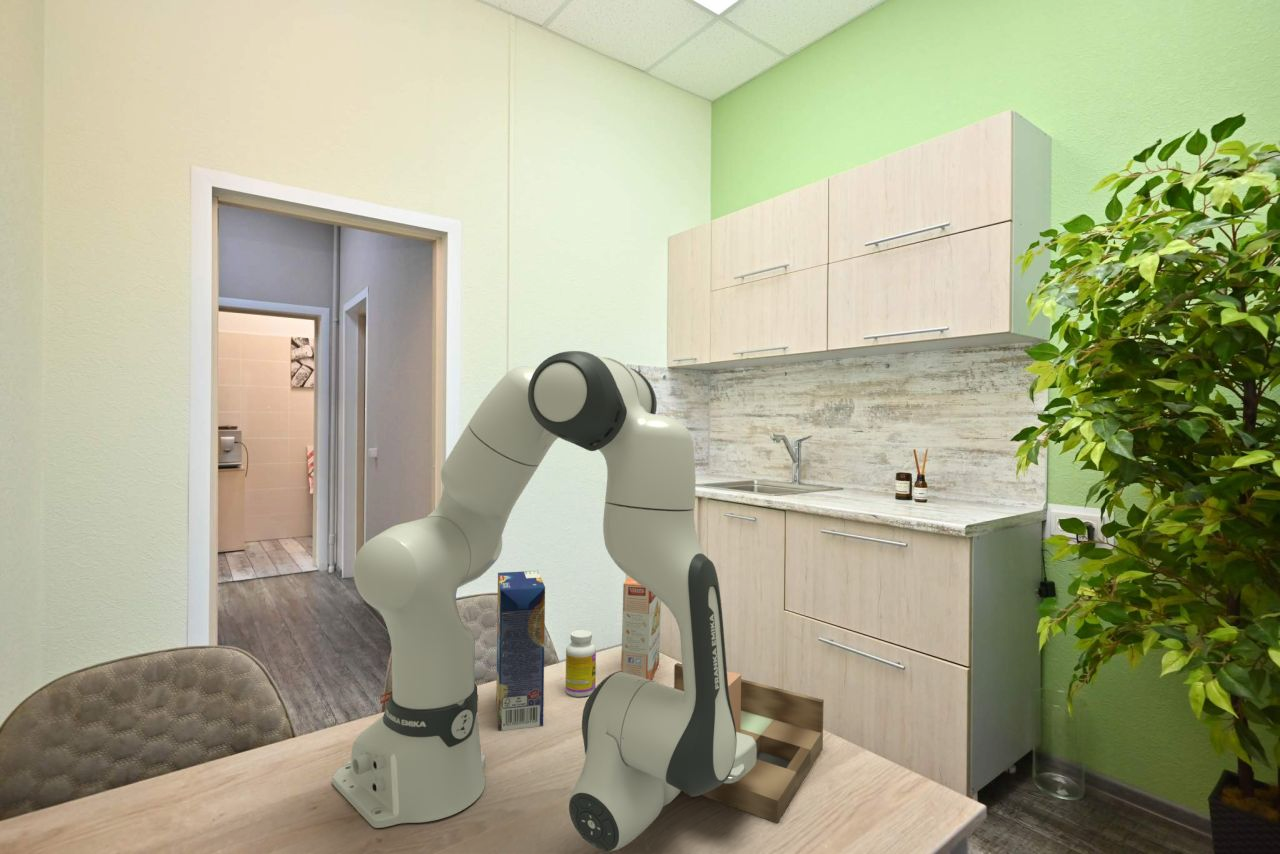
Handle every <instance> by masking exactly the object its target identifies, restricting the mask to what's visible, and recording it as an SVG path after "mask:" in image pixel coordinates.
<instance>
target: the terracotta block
mask: <svg viewBox="0 0 1280 854" xmlns="http://www.w3.org/2000/svg"><path fill="white" fill-rule="evenodd" d="M727 678H728V690H729V698H730V703H731V708H732V712H733V717H734V721H735V727H736V732H739V733H740V726H741V679H742V674H740V673H737V672H733V671H728V670H727Z"/></svg>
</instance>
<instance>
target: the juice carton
mask: <svg viewBox="0 0 1280 854" xmlns="http://www.w3.org/2000/svg"><path fill="white" fill-rule="evenodd" d="M496 615H497V617H496V618H497V621H496V624H497V625H496V626H497V629H496V637H497V638H496V693H495V695H496V696H495V697H496V698H495V699H496V711H497V722H498V731H499V732H502V731H510V730H518V729H519V730H521V729H528V728H537V727H544V704H545V703H544V699H545V697H544V695H545V694H544V693H545V692H544V691H545V690H544V689H545V688H544V687H545V628H546V627H545V623H546V620H545V619H546V617H545V615H546V587H545V584H544V581H543V579H542V576H541V575H540V573H539V570H528V571H527V570H526V571H523V570H522V571H508V572H507V571H505V572H497V614H496Z"/></svg>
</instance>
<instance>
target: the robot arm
mask: <svg viewBox="0 0 1280 854" xmlns="http://www.w3.org/2000/svg"><path fill="white" fill-rule="evenodd" d="M657 404H658V403H657V397H656V393H655V390H654V388H653V385H652V384H651V383H650V382H649V380H648V379H647V378H646V377H645V376H644V375H643V374H642V373H641V372H639V371H638V370H637V369H635V368H633V367H629V366H628V365H626V364H624V363H622V362H620V361H619V360H616V359H613V358H610V357H605V356H604V357H603V356H598V355H594V354H593V353H590V352H586V351H582V350H581V351H580V350H568V351H562V352H557V353H555V354H553V355H551V356H549V357H547V358H546V359H545V360H543V361H541V363H540V364H538V366H537V367H533V366H519V367H517V366H516V367H514V368H512V369H510V370H509V371H508V372H506V373H505V375H504V376H503V377H502V378H501V379H500V380H499V381H498V382H497V383H496V384H495V386H494V387H493V388H492V389H491V391H489V393H488V394H487V396H486V397H485V398H484V399H483V401H482V402H481V403H480V405H479V406H478V408H477V409H476V411H475V413H473V414H472V417H471V418H470V420H469V422H468V423H467V425H466V426H465V428H464V430H463V431H462V433H461V435H460V437H459V438H458V439H457V441H456V444H455V445H454V446H453V448H452V450H451V452H450V453H449V455H448V456H447V458H446V459H445V462H444V463H443V465H442V467H441V470H440V478H441V479H440V480H441V482H442V485H443V489H442V494H441V497H440V499H439V502H438V504H437V506H436V507H435V508H434V510H432V512H431V513H429V514H428V515H427V516H425V517H423V518H419V519H415V520H411V521H408V522H403V523H399V524H395V525H393V526H390V527H389V528H387V529H385V530H383V531H382V532H380V533H378V534H377V535H376V536H373V537H372V538H370V539H369V540H367V541H366V542H365V543H364V544H363V545H362V546H361V547H360V548H359V550H358V552H357V553H356V557H355V559H354V564H353V580H354V584H355V587H356V590H357V592H358V593H359V595H360V596H361V598H362V599H363V600H364V601H365V602H366V603H367V604H368V605H369V606H371V607H372V608H374V609H375V610H377V611H378V612H379V613H380V615H381V616H382V618H383V621H384V623H385V624H386V628H387V631H388V634H389V640H390V647H391V674H392V675H391V677H392V678H391V679H392V680H391V684H392V686H391V687H392V688H391V689H392V690H391V691H388V692H386V693H384V694H382V695H380V696H379V698H383V699H382V700H381V701H379V704H384V703H386V706H385V709H384V712H383V715H382V716H381V717H380V718H378V719H377V720H376V721H375V722H374V723H372V724H370V725H369V726H368V727H366V728H365V729H364V730H363V731H361V732H360V733H359V734H358V736H356V738H355V740H354V741H353V744H352V747H351V756H350V760H349V761H347V762H345V764H343V765H342V766H341V767H340V768H339V769H338V770H337V771H336V772H335V773H334V774H333V776H332V781H331V782H332V783H331V784H332V785H333V786H334V787H335V789H336V790H337V791H338V792H339V793H340V794H341V795H342V796H343V797H344V798H345V800H347V801H348V802H349V803H350V804H351V805H352V807H354V809H355V810H356V811H357V812H358V813H359V814H360V815H361V816H362V818H364V819H365V820H366V822H367V823H368V824H370V826H372V827H373V828H375V829H381V828H382V829H383V828H387V827H390V826H391V827H392V826H396V825H399V824H408V823H410V824H411V823H413V824H414V823H416V824H417V823H427V822H433V821H437V820H441V819H444V818H448V817H451V816H453V815H455V814H457V813H459V812H461V811H463V810H465V809H467V808H468V807H469V806H471V805H472V804H474V803H475V802H477V800H478V799H479V798H480V797H481V795H483V792H484V790H485V788H486V779H485V774H484V767H485V765H486V757H485V754H484V753H482V750H481V749H482V747H481V738H480V737H481V736H480V728H479V727H480V726H479V725H480V724H479V717H478V711H479V710H478V703H479V702H478V701H479V694H478V686H477V684H476V683H475V677H476V676H475V675H476V673H475V671H476V670H475V668H476V667H475V665H476V637H475V633H474V631H473V629H472V628H471V627H470V625H469V624H467V623H466V622H464V621H462V618H461V615H460V612H459V609H458V608H459V607H458V605H457V592H458V589H459V588H460V587H463V586H465V585H467V584H469V583H472V582H474V581H475V580H477V579H479V578H481V576H482V575H484V574H485V573H486V572H487V571H488V570H489V569H490V568H491V567H492V566H493V565H494V564H495V563H496V562H497V561H498V559H499V557H500V555H501V552H502V549H503V536H502V535H503V534H504V530H505V528H506V524H507V523H508V519H509V517H510V515H511V512H512V510H513V508H514V507H515V505H516V503H517V501H518V500H519V498H520V497H521V495H522V493H523V492H524V490H525V489H526V487H527V485H528V484H529V482H530V480H531V479H532V478H533V476H534V474H535V472H536V471H537V469H538V468H539V466H540V465H541V463H542V461H543V460H544V458H545V456H546V455H547V453H548V452H549V450H550V448H551V447H552V445H553V444H554V443H555V442H556V440H558V439H561V440H564V441H566V442H568V443H572V444H574V445H575V446H578V447H580V448H582V449H585V450H586V451H588V452H589V451H590V452H596V451H599V452H600V453H601V454H602V456H603V457H604V460H605V464H606V469H607V471H606V472H607V478H606V479H607V480H606V489H605V497H604V498H605V499H604V509H603V521H602V522H603V523H602V524H603V525H602V529H603V531H602V532H603V533H602V534H603V540H604V545H605V548H606V549H605V550H607V551H606V552H608V554H609V556H610V558H611V560H613V562H614V563H615V564H616V566H617V567H618V569H620V570H621V572H623V573H625V575H627V576H628V578H629V577H630V578H632V579H633V580H635V581H636V582H638V583H639V584H641V585H642V586H644V587H645V588H646V589H648V590H649V591H651V592H652V593H653V594H654V595H655V596H657V597H658V598H659V599H660V600H661V603H663V604H664V605H665V606H666V607H667V609H668V610H669V611H670V613H671V614H672V616H673V617H674V619H675V622H676V623H677V626H678V630H679V635H680V636H679V637H680V638H679V639H680V649H681V664H682V666H683V680H684V691H681V690H678V689H675V688H674V687H672V686H668V685H665V684H661V683H658V682H656V681H654V680H649V679H645V678H642V677H639V676H636V675H633V674H629V673H625V672H622V671H621V670H620V671H619V670H618V671H616V672H613V673H610V674H609V675H608V676H607V677H605V678H604V679H603V680H601V681H600V682H599V684H597V686H595V689H594V691H593V692H592V693H591V695H588V697H587V699H586V702H585V704H584V707H583V710H582V717H581V718H582V719H581V734H582V740H583V746H584V754H585V758H584V763H583V767H582V769H581V773H580V776H579V777H578V780H577V782H576V784H575V785H574V788H573V789H572V791H571V793H570V796H569V799H568V813H569V817H570V820H571V822H572V824H573V826H574V828H575V830H576V831H577V833H578V834H579V835H580V836H581V838H582V839H583V840H585V841H586V842H587V843H589V844H590V845H591V846H593V847H595V848H597V849H599V850H601V851H605V852H614V851H617V850H620V849H622V848H624V847H626V846H627V845H628V844H630V843H631V842H633V841H635V839H637V837H639V836H640V835H641V834H642V833H643V832H645V831H646V830H647V829H648V827H650V825H652V823H653V822H654V821H655V820H656V819H657V818H658V817H659V816H660V813H661V812H662V810H663V807H665V806H667V805H669V804H670V803H671V802H673V800H674V799H675V798H676V797H678V796H679V794H680V793H681V792H683V793H685V794H686V795H688V796H689V797H699V796H702V794H704V793H707V792H709V791H711V790H713V789H715V788H716V787H718V786H720V785H721V784H722V783H733V782H736V781H738V780H739V779H741V778H742V777H743V776H744V775H746V774H747V773H748V772H749V771H750V770H751V769H752V768H753V767H754V766H755V764H756V757H757V746H756V742H755V740H754V738H753V737H751V736H749V735H745V734H742V733H739V732H736V727H735V721H734V717H733V712H732V708H731V703H730V698H729V690H728V678H727V671H728V667H727V654H726V642H725V630H724V619H723V618H724V617H723V609H722V599H721V597H722V596H721V590H720V584H719V577H718V574H717V573H718V572H717V570H716V567H715V565H714V562H713V561H712V560H711V559H709V557H707V556H706V555H705V554H704V551H703V550H702V548H701V545H700V542H699V538H698V536H697V531H696V524H695V505H696V463H695V460H696V459H695V451H694V441H693V438H692V435H691V433H690V430H689V429H688V428H687V427H686V426H685V425H684V424H683V423H682V422H680V421H679V420H677V419H675V418H673V417H670V416H668V415H663V414H656V413H657Z"/></svg>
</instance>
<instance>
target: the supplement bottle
mask: <svg viewBox="0 0 1280 854" xmlns="http://www.w3.org/2000/svg"><path fill="white" fill-rule="evenodd" d="M592 639H593V633H592V632H591V631H590V630H586V629H577V630H574V631H571V633H570V641H571V642H570V643H569V644H568V645H567V646H566V648H565V682H564V683H565V685H564V686H565V692H566V693H567V694H568V695H570V696H572V697H578V698H581V697H587V696H588V697H589V696H590V695H591V693H592V692H593V691H594V689H595V688H596V683H597V682H596V681H597V680H596V677H597V676H596V672H597V670H596V669H597V648H596V646H595V644H594V643H592Z"/></svg>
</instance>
